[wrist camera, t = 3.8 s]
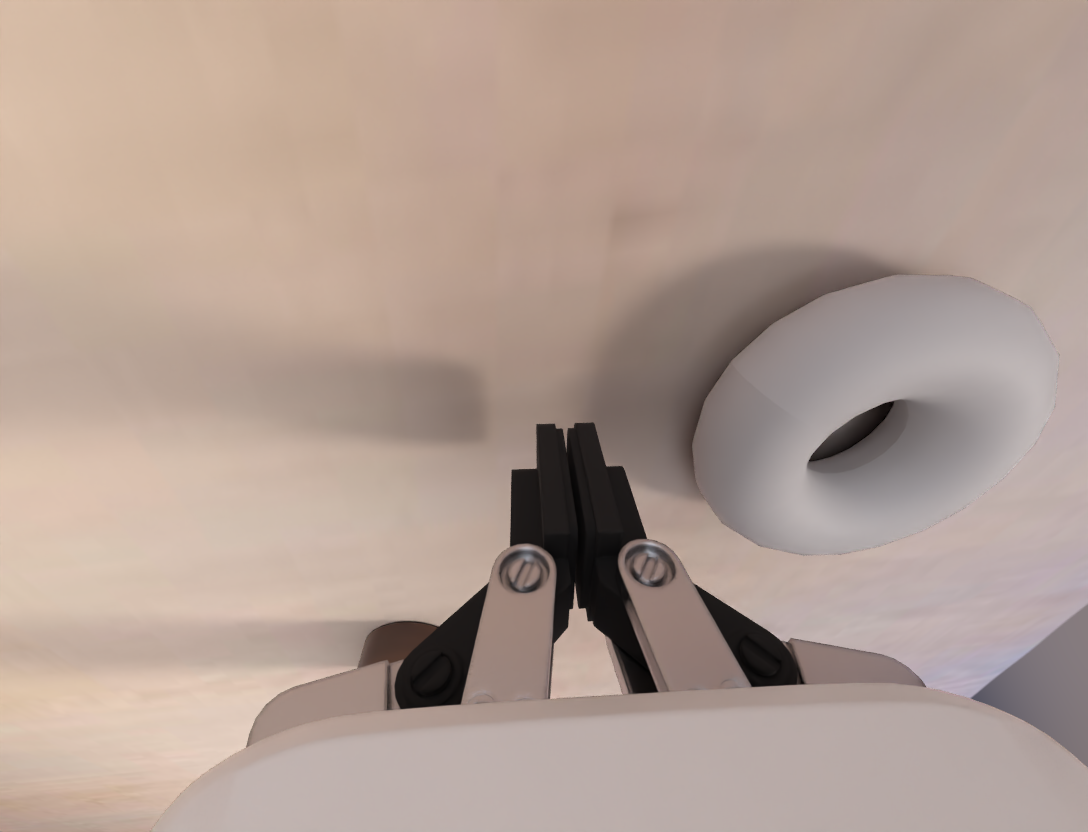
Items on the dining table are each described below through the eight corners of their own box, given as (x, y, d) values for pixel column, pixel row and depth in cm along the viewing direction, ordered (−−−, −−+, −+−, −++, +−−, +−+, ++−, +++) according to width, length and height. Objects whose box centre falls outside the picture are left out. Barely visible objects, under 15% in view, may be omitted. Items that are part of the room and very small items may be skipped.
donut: (854, 512, 18) (1060, 290, 12) (916, 584, 15) (1220, 339, 9) (640, 490, 16) (761, 225, 11) (665, 565, 14) (846, 261, 8)
